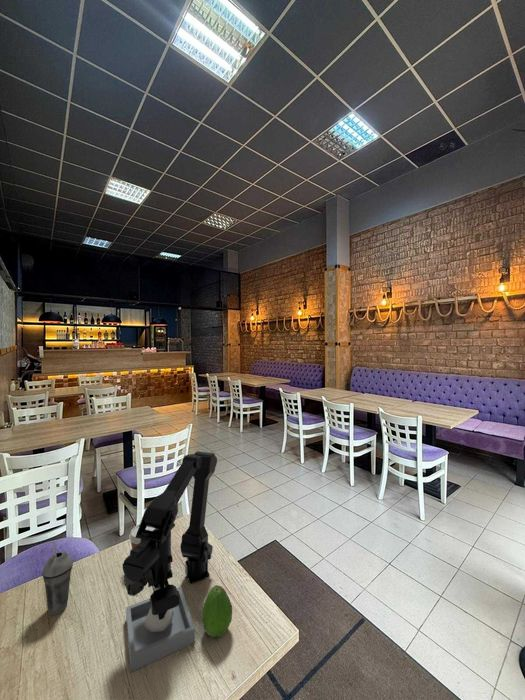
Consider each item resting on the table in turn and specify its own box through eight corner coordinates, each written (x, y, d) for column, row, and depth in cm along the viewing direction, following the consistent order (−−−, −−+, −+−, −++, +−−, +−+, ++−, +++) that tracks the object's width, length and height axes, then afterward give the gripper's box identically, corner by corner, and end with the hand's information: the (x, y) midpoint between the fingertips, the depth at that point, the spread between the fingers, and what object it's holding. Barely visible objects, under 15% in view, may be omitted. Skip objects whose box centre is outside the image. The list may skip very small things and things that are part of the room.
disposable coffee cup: (140, 578, 96) (140, 542, 96) (123, 567, 101) (123, 532, 101) (164, 561, 104) (164, 527, 104) (147, 550, 109) (147, 518, 109)
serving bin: (181, 598, 89) (181, 586, 89) (194, 642, 76) (194, 628, 75) (126, 619, 82) (126, 607, 82) (130, 672, 68) (130, 657, 68)
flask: (164, 636, 74) (164, 597, 74) (138, 630, 76) (138, 591, 76) (178, 610, 81) (178, 575, 81) (154, 606, 83) (154, 570, 83)
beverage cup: (78, 603, 87) (78, 535, 86) (52, 624, 80) (52, 550, 80) (63, 594, 90) (63, 528, 90) (36, 613, 83) (36, 543, 83)
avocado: (202, 649, 74) (202, 602, 74) (201, 621, 81) (201, 578, 81) (234, 643, 75) (234, 596, 75) (230, 615, 83) (230, 573, 83)
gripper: (123, 541, 83) (123, 596, 83) (129, 589, 66) (129, 658, 67) (165, 529, 88) (164, 581, 88) (179, 571, 72) (179, 635, 72)
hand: (159, 610), depth 79 cm, fingers closed on flask, 5 cm apart
